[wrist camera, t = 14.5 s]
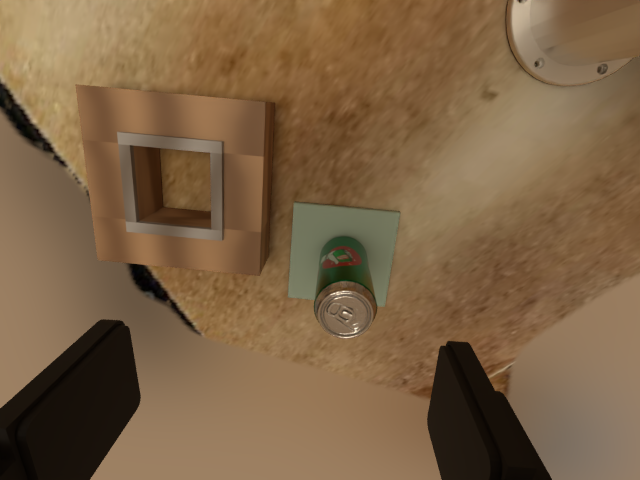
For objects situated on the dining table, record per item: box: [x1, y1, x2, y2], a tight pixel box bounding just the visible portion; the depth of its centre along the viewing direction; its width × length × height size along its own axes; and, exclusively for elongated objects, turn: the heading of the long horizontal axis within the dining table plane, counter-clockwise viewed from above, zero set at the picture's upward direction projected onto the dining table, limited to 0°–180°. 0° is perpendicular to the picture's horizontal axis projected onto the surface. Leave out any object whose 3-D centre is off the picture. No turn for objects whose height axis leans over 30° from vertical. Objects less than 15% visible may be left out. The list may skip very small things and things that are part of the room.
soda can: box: [314, 236, 377, 339], centre depth 34 cm, size 5×5×12 cm
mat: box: [288, 202, 400, 307], centre depth 40 cm, size 11×11×1 cm
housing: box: [76, 85, 275, 276], centre depth 36 cm, size 16×16×6 cm
